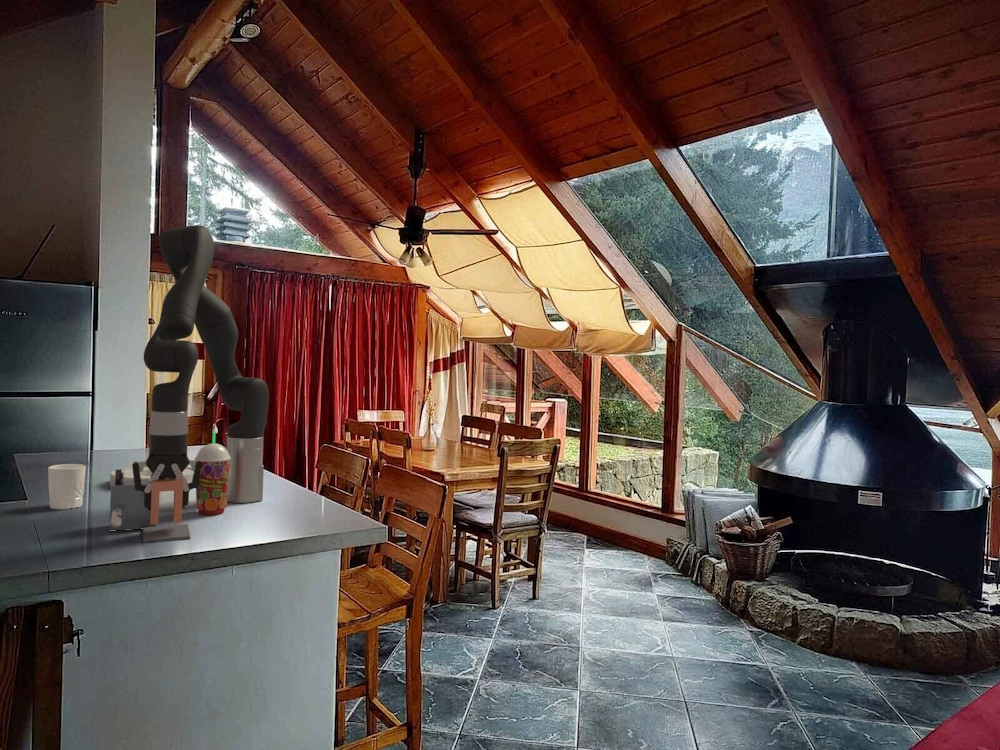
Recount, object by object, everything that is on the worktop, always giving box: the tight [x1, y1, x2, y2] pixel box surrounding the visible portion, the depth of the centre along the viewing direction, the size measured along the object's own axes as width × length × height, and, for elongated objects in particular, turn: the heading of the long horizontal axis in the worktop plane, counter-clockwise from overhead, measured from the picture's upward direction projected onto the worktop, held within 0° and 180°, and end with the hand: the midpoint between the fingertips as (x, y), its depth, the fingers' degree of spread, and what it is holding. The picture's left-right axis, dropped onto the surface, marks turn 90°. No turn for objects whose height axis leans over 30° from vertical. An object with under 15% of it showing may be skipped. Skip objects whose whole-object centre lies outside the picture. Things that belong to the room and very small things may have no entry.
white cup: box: [47, 463, 87, 510], centre depth 170 cm, size 8×8×10 cm
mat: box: [142, 523, 191, 543], centre depth 149 cm, size 9×11×1 cm
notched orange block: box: [150, 478, 183, 525], centre depth 149 cm, size 6×6×9 cm
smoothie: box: [194, 432, 231, 516], centre depth 170 cm, size 8×8×20 cm
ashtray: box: [109, 465, 194, 486], centre depth 202 cm, size 23×23×4 cm
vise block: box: [109, 468, 157, 531], centre depth 149 cm, size 18×9×13 cm, turn 27°
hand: (166, 508), depth 149 cm, fingers closed on notched orange block, 6 cm apart
